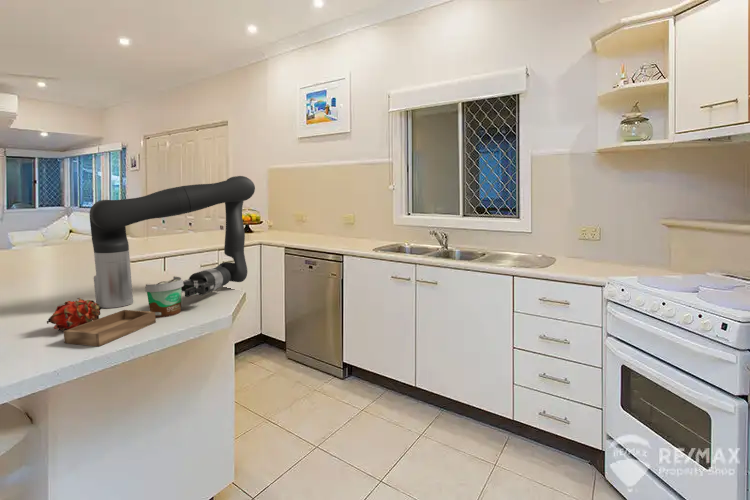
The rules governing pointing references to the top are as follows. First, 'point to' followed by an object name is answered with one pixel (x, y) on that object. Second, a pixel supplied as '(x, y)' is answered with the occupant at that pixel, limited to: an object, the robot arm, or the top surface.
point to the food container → (165, 297)
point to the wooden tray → (109, 328)
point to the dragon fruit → (74, 314)
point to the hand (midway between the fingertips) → (173, 292)
